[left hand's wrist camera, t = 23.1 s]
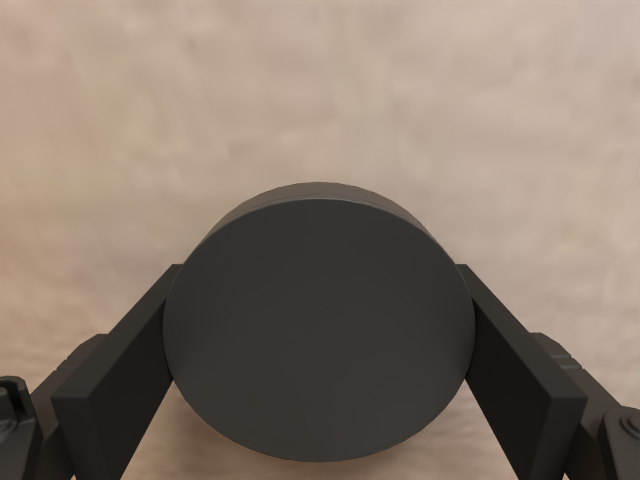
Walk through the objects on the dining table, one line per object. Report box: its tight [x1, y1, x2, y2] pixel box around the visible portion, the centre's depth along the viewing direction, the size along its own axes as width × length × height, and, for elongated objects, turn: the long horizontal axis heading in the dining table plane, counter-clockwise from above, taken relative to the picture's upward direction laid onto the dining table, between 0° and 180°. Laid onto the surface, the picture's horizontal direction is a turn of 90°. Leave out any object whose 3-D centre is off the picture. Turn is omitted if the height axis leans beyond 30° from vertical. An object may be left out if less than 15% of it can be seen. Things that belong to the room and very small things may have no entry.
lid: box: [162, 182, 476, 462], centre depth 12 cm, size 9×9×2 cm
